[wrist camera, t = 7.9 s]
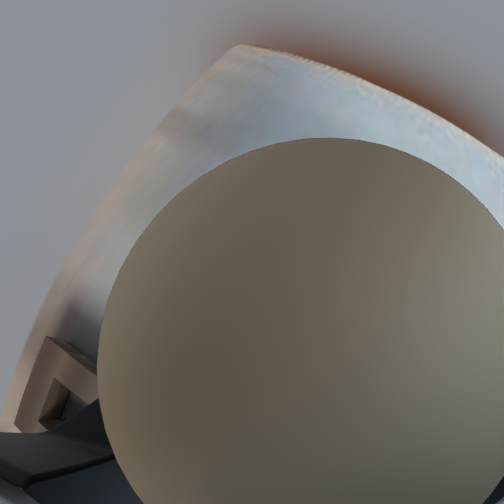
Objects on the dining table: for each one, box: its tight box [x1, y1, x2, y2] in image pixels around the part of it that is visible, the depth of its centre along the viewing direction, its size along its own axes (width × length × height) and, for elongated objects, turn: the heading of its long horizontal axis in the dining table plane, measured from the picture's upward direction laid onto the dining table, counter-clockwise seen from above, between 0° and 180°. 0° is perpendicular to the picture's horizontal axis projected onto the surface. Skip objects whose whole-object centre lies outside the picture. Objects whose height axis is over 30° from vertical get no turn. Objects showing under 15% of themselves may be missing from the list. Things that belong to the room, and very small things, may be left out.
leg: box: [97, 138, 504, 504], centre depth 9 cm, size 6×6×13 cm
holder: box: [14, 336, 99, 433], centre depth 18 cm, size 9×9×3 cm
